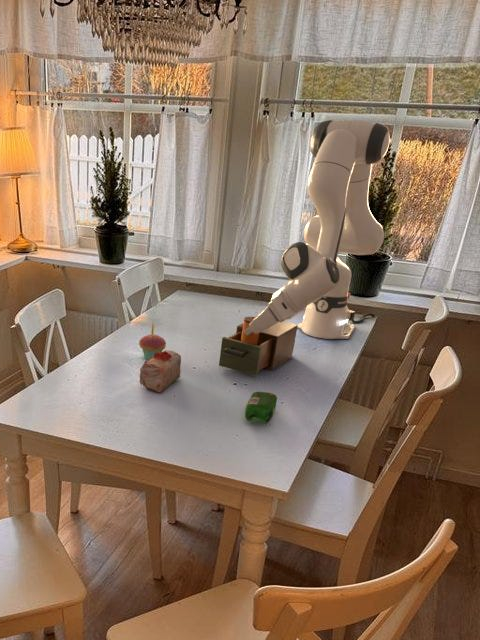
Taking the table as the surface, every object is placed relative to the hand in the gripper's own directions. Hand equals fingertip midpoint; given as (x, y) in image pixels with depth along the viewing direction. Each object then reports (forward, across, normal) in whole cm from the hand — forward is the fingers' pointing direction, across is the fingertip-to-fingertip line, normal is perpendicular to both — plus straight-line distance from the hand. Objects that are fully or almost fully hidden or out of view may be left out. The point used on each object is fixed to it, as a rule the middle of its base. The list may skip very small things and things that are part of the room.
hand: (248, 329), depth 197 cm
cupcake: (+29, +7, -11) cm, 32 cm away
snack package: (-1, +31, +19) cm, 36 cm away
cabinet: (+7, -12, +10) cm, 17 cm away
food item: (+21, +25, -3) cm, 33 cm away
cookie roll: (+3, 0, +4) cm, 4 cm away
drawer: (+8, +1, +8) cm, 11 cm away
